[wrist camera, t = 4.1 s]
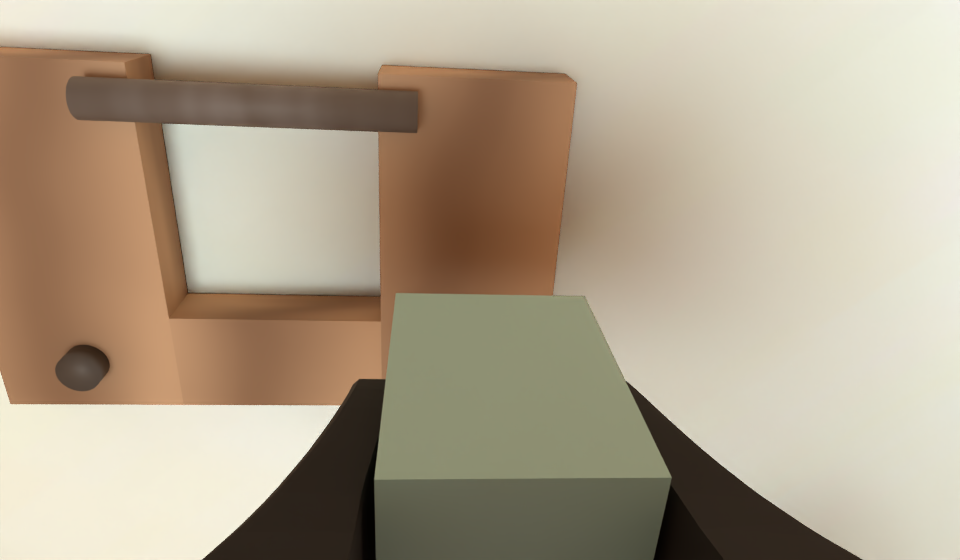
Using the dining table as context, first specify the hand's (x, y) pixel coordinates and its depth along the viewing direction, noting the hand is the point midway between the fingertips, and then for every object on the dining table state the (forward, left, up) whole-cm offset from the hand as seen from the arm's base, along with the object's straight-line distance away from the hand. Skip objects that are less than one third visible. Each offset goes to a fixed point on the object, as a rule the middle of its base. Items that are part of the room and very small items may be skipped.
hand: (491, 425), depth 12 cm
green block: (0, 0, -1) cm, 1 cm away
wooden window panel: (+6, 0, -9) cm, 10 cm away
